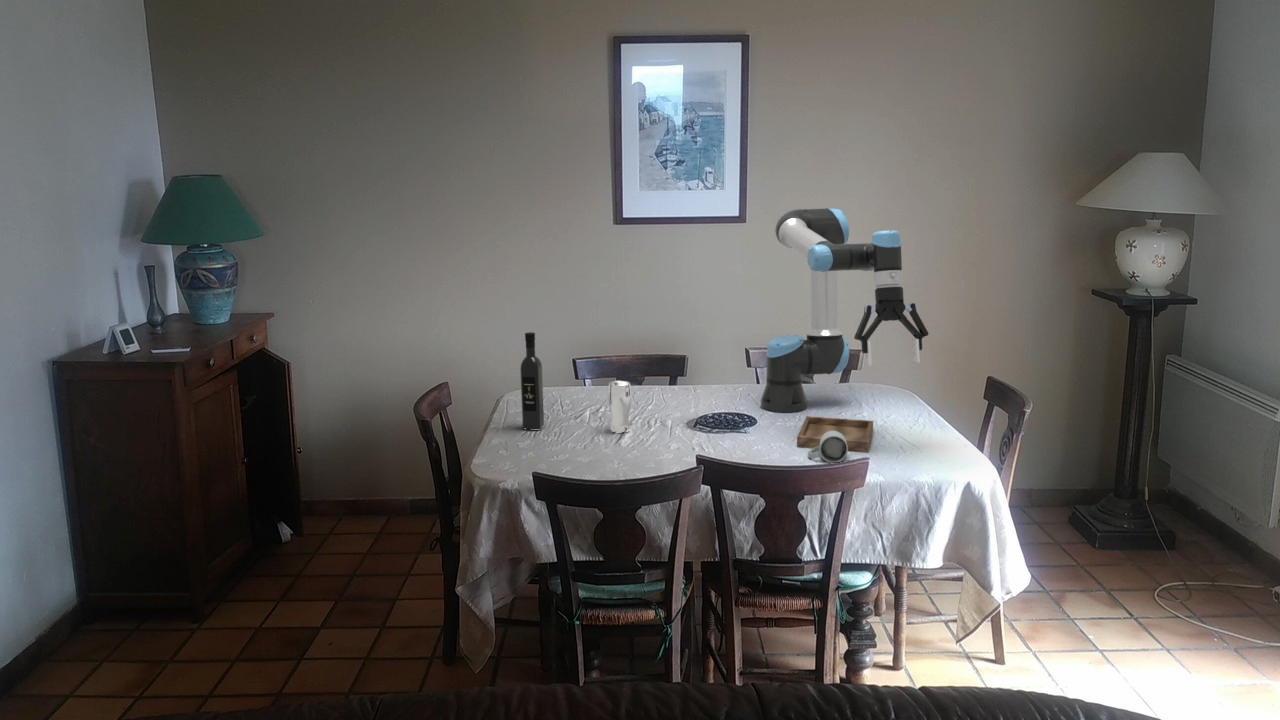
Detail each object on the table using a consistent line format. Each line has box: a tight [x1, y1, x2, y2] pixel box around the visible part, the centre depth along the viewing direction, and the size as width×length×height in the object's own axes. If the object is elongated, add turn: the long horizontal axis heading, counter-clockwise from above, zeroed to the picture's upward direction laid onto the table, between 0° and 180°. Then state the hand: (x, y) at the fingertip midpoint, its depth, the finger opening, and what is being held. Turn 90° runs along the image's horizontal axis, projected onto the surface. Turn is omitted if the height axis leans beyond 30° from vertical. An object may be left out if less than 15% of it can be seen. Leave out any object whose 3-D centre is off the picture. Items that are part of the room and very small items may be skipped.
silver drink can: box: [607, 380, 632, 432], centre depth 285 cm, size 7×7×15 cm
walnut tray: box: [796, 416, 874, 453], centre depth 276 cm, size 20×22×3 cm
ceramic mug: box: [807, 431, 849, 464], centre depth 258 cm, size 11×8×8 cm
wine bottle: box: [519, 331, 545, 430], centre depth 287 cm, size 6×6×30 cm
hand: (892, 364), depth 258 cm, fingers open, 13 cm apart
